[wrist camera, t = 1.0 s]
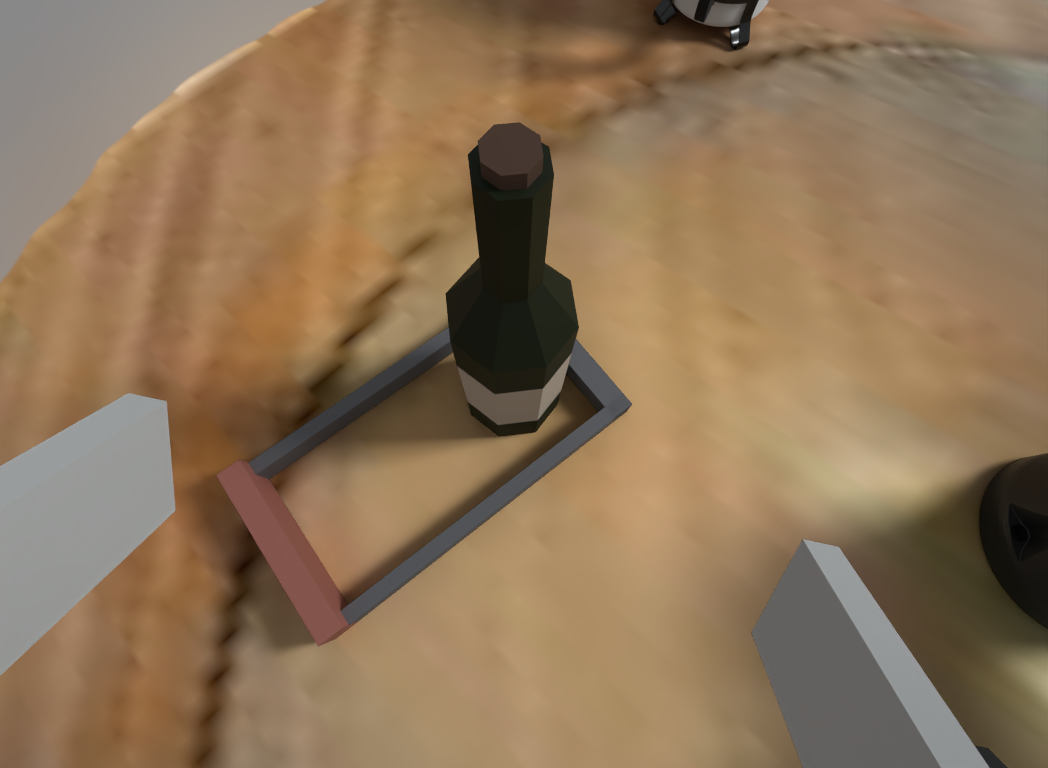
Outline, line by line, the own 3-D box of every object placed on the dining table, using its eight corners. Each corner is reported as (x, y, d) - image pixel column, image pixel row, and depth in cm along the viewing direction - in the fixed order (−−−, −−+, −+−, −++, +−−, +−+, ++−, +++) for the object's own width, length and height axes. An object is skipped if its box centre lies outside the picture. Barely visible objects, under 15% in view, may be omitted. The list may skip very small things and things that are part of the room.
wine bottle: (493, 455, 46) (462, 286, 18) (449, 376, 48) (358, 113, 20) (575, 409, 48) (668, 185, 19) (529, 334, 50) (550, 34, 21)
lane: (522, 290, 51) (522, 268, 48) (626, 411, 48) (636, 398, 44) (241, 482, 45) (216, 475, 41) (336, 638, 42) (318, 646, 38)
